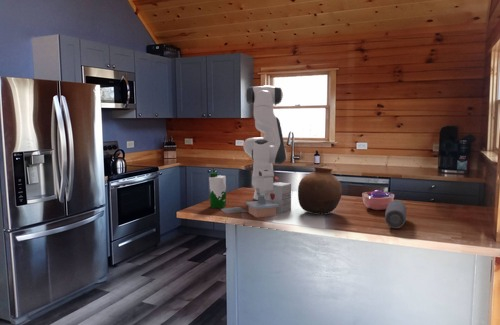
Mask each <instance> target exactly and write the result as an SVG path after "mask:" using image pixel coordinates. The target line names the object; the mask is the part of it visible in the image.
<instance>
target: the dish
mask: <svg viewBox="0 0 500 325" xmlns="http://www.w3.org/2000/svg"><path fill="white" fill-rule="evenodd" d="M248 213H249V214H250V215H251V216H253V217H255V218H256V219H259V218H263V217H264V218H268V217H272V216H273V217H277V211H276V207H273V208H263V209H254V208H252V207H250V206H249V205H248Z"/></svg>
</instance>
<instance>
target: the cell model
mask: <svg viewBox="0 0 500 325" xmlns="http://www.w3.org/2000/svg"><path fill="white" fill-rule="evenodd" d="M361 196H362V202H363V204H364V205H365V207H367V208H369V209H372V210H374V211H384V210H386V209H387V206H388V204H389V203H390V202H391V201H393V200H394V198H395V194H394V193H392V192H388V191H385V190H384V189H382V190H381V189H376V190H373V191H365V192H362V194H361Z"/></svg>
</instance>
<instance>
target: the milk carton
mask: <svg viewBox="0 0 500 325" xmlns="http://www.w3.org/2000/svg"><path fill="white" fill-rule="evenodd" d="M209 174H210V176H209V177H208V181H209V182H208V183H209V201H210V203H209V204H210V208H211V209H223V208H226V207H225V206H226V205H227V181H226V179H227V178H226V177H227V176H226V175H218V172H210V173H209Z"/></svg>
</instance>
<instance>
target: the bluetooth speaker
mask: <svg viewBox="0 0 500 325" xmlns="http://www.w3.org/2000/svg"><path fill="white" fill-rule="evenodd" d="M384 213H385V215H384V218H385V222H386V224H387V225H388V226H389V227H390V228H393V229H398V228H402V227H403V226H404V224H406V220H407V214H408V213H407V207H406V205H405V203H404V202H403V201H401V200H399V199H395V200H394V199H393V201H391V202H390V203H389V204H388V206H387V209H385V212H384Z"/></svg>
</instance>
